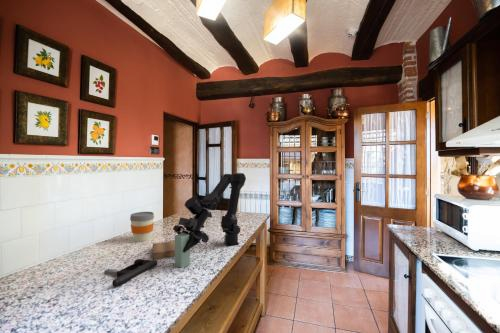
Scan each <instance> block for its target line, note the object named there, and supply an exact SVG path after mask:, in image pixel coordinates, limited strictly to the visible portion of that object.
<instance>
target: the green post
mask: <svg viewBox="0 0 500 333" xmlns="http://www.w3.org/2000/svg"><path fill="white" fill-rule="evenodd" d="M188 240H189V235H188V234H184V233H182V234H179V235H178V234H175V235H174V241H175V257H174V267H175V266H176V267H178V268H181V269H183V268H185V267H187V266H189V265H190V264H191V248H190V249H189V250H188V251H186V252H185V253H184V252H183V249H184V247H185V245H186V244H187V242H188Z"/></svg>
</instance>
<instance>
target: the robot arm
mask: <svg viewBox="0 0 500 333" xmlns="http://www.w3.org/2000/svg"><path fill="white" fill-rule="evenodd" d="M246 180H247V178H246V175H245V173H243V172H232V173H224V174H223V176H222V177H221V179H220V180H219V182H218V183H217V185H216V186H215V187H214V189H213V190H212V191H211V192H209V193H208V194H206V195H205V196H204V197H203V198H202V199H201V200H200V199H199V197H198V196H197V195H192V197H189V198H188V200H186V201H185V203H184V207H185V208H186V210H188V211H189V213H190V214H192V215H194V216H193V217H189V218H185V217H179V220H178V223H177V224H175V225H174V226H173V228H172V230H173V231H174V232H175V234H176V235H179V234H182V233H184V234H188V235H189V240H188V242H187V244H186V245H185V247H184V249H183V252H184V253H185V252H186V251H188V250H189V249H190V250H191V249H192V248H193V247H195V246H196V245H198V244H201V242H202V243H205V244H207V243H208V242H209V235H208V234H207V233H206V232H205V231H203V230H201V229H204V228H205V225H204V224H205V222H206V221H207V219H208V218H210V219H211V218H213V215H212V211H215V210H216V209H217V207H218V205H219V203H220V198H221V196H222V195H223V194H224V192H225V191H226V189H227V188H228V187H229V185H230V186H231V190H230V195H229V200H228V206H227V209H226V214H225V215H222V217H221V221H220V227H221V229H222V233H224V236H223V237H224V240H223V243H224V244H225V245H226V246H227V247H231V246H235V245H237V246H238V245H240V243H239V238H238V236H239V234H240V233H241V230H242V229H241V227H240V226H239V225H238V218H237V210H238V204H239V199H240V193H241V190H242V188H243V187H244V185H245V183H246ZM209 210H210V211H209Z"/></svg>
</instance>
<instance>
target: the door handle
mask: <svg viewBox="0 0 500 333" xmlns="http://www.w3.org/2000/svg"><path fill="white" fill-rule="evenodd" d="M157 265H158V260H157V259H154V260H153V259H144V258H137V259H135V260H134V262H133V264H130V265H128V266H126V267H124V268H122V269H120V270H116V269H111V268H107V269H105V270H104V275H106V276H107V275H108V276H112V277H115V279H113V280H112V283H111V284H112V286H113V287H114V288H117V287H121V286H123V285H124V284H126V283H128V282H130V281H131V282H133V280H136V279H138V278H140V277H141V276H143V275H145V274H146V273H148V272H149V271H150V270H152V269H155V267H157Z"/></svg>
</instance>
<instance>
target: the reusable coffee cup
mask: <svg viewBox="0 0 500 333" xmlns="http://www.w3.org/2000/svg"><path fill="white" fill-rule="evenodd" d="M129 218H130V219H129V220H130V228H131V233H132V237H133V238H132V239H133V242H134V243H146V242H150V240H152V232H153V230H154V224H155V222H154V218H155V215H154V212H153V211H138V212H134V213H133V212H132V213H131V214H130V217H129Z"/></svg>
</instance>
